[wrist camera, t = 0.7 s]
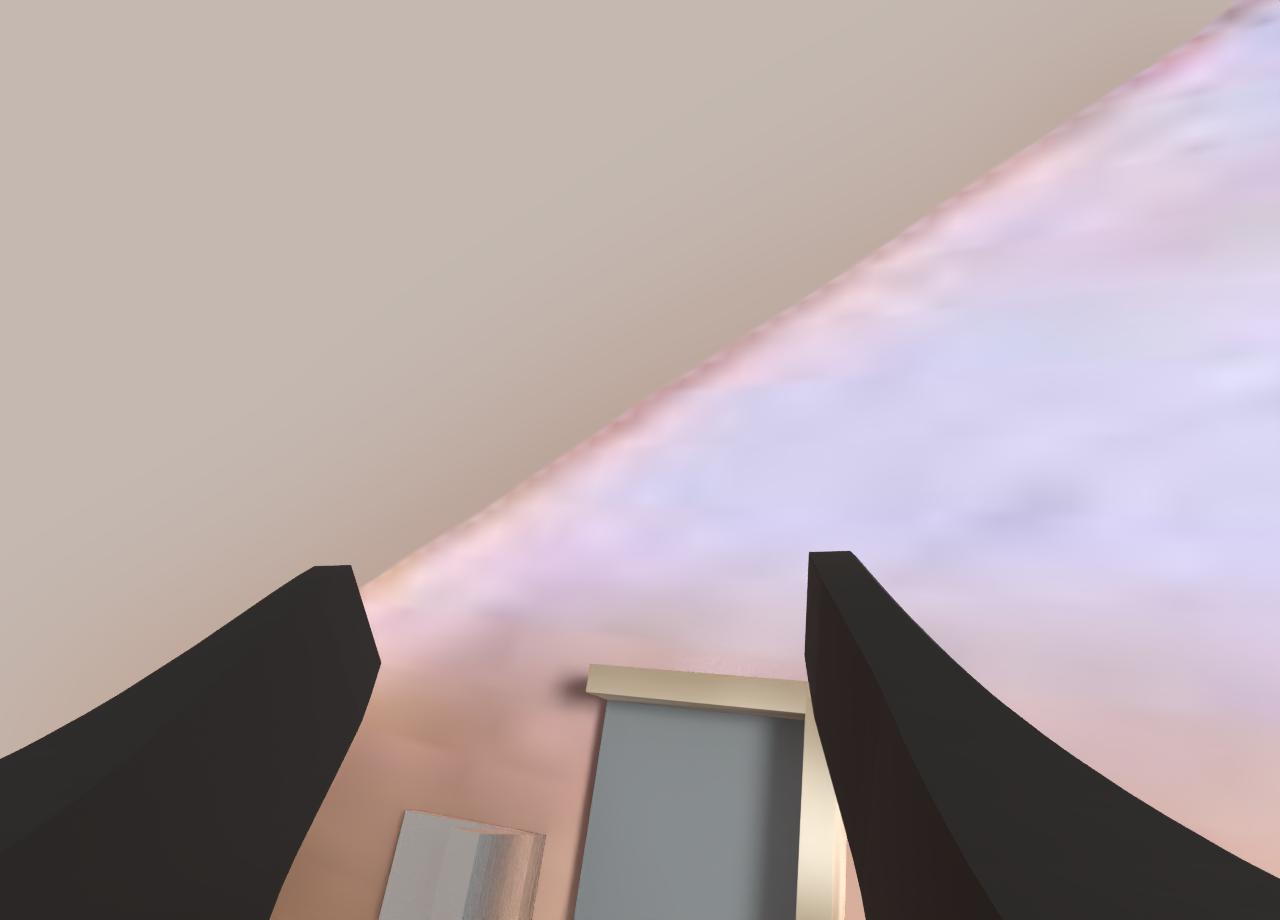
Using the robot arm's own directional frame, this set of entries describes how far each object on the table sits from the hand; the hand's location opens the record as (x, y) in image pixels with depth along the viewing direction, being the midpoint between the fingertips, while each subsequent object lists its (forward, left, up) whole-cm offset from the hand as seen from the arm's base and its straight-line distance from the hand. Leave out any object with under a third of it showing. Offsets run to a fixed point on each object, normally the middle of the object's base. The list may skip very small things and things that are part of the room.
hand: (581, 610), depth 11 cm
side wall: (+1, +3, -17) cm, 17 cm away
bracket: (-6, +12, -17) cm, 22 cm away
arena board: (-6, +3, -17) cm, 19 cm away
